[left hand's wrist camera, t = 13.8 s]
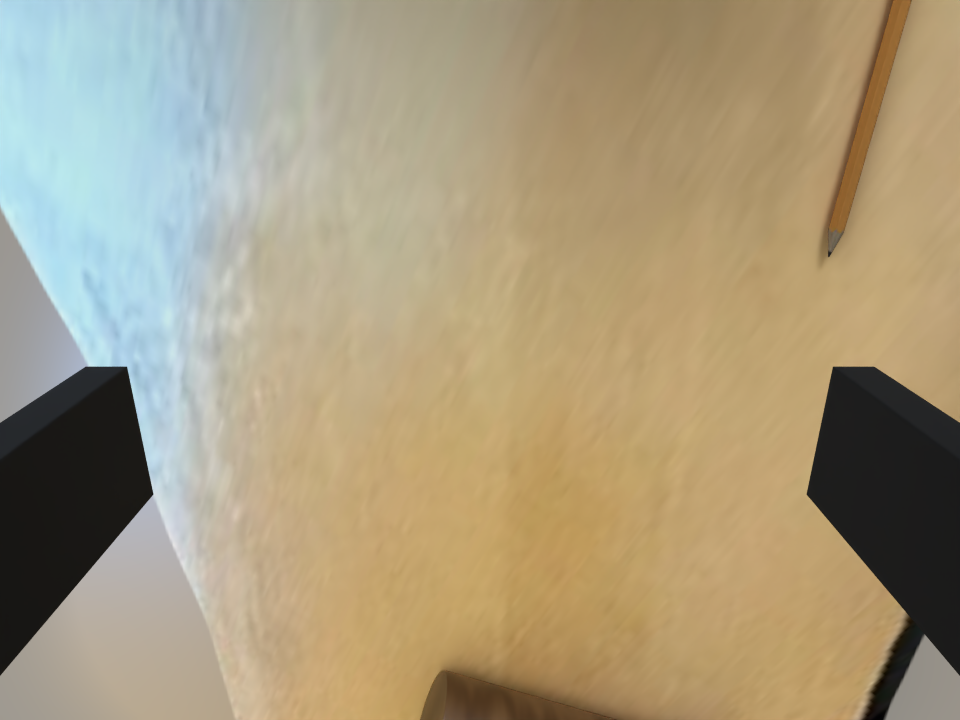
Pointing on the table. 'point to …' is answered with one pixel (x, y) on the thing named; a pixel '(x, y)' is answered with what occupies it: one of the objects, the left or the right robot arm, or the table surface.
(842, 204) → the pencil
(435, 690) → the rod
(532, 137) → the table surface
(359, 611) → the table surface
